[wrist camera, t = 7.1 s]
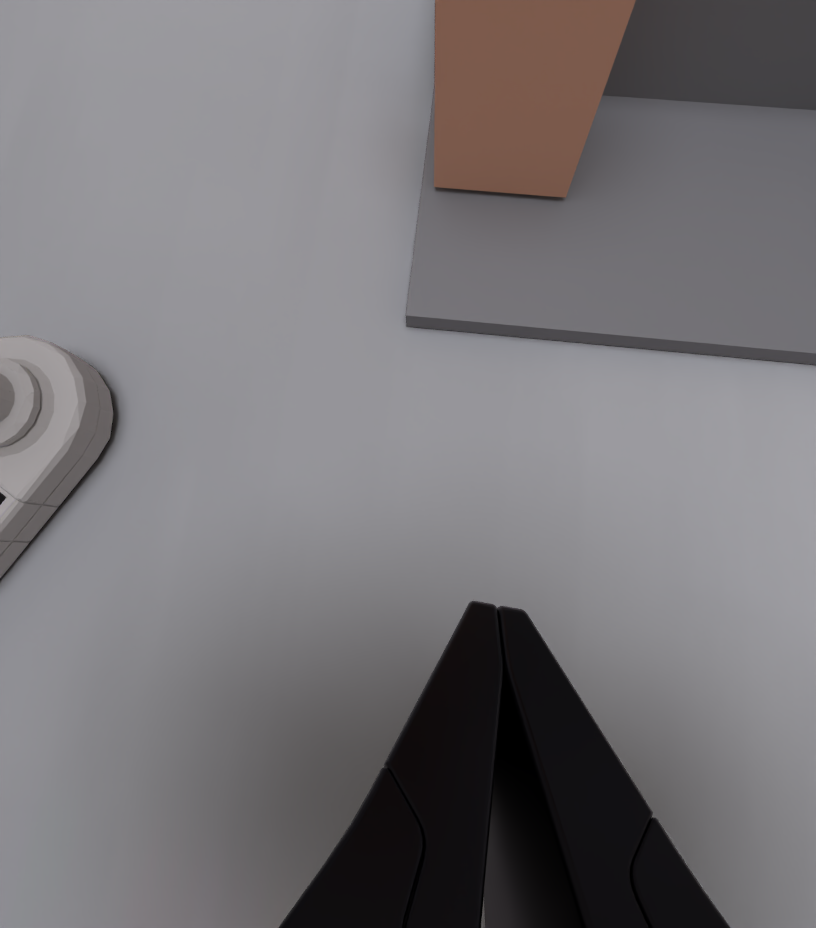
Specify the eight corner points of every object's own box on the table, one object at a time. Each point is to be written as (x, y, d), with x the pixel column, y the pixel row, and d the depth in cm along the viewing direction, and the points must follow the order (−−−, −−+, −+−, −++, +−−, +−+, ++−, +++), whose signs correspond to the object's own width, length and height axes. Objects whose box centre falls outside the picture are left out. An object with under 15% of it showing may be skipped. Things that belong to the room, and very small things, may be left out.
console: (1000, 382, 22) (1239, 300, 16) (406, 326, 23) (397, 229, 17) (976, 15, 25) (1169, -183, 18) (448, -17, 26) (455, -212, 20)
